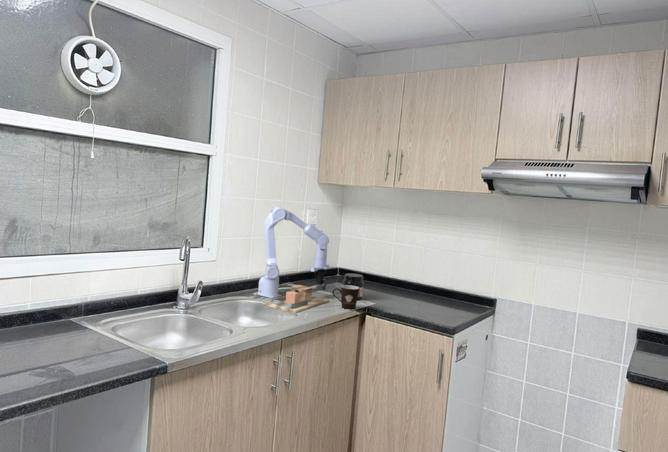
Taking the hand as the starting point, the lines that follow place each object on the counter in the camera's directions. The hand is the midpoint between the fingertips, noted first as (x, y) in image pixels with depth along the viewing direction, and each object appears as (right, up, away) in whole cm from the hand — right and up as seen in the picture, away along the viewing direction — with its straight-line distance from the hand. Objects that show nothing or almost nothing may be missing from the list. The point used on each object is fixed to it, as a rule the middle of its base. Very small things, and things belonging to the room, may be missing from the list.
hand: (318, 284), depth 234 cm
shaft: (-4, -3, -6) cm, 7 cm away
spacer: (-11, -4, -19) cm, 22 cm away
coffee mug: (+13, -9, -16) cm, 22 cm away
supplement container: (+17, -8, +5) cm, 19 cm away
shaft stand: (-9, -7, -15) cm, 19 cm away
